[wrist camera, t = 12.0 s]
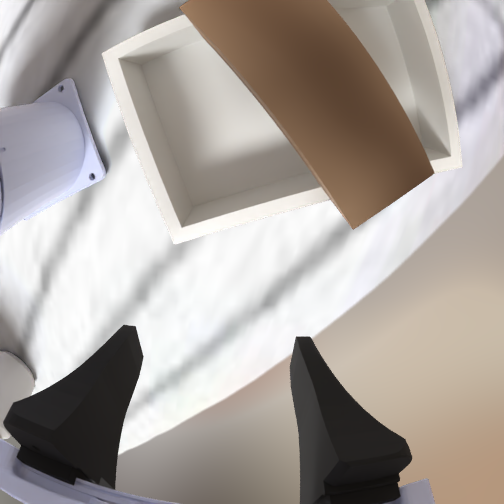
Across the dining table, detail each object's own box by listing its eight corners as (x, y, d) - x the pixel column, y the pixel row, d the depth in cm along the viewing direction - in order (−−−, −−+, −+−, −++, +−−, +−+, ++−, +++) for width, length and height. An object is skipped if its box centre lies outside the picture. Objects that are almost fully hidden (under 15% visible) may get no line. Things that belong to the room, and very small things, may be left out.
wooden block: (324, 191, 15) (353, 229, 11) (202, 37, 11) (179, 7, 7) (384, 150, 14) (435, 173, 10) (269, -6, 10) (276, -50, 6)
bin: (188, 218, 20) (174, 244, 17) (129, 61, 15) (101, 53, 11) (430, 154, 18) (462, 167, 14) (389, -2, 13) (416, -19, 9)
